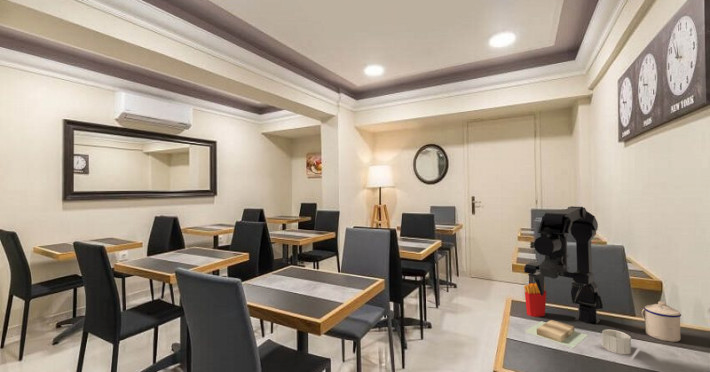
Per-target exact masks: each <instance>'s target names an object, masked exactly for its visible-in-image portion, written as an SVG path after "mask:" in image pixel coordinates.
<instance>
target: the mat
mask: <svg viewBox="0 0 710 372" xmlns="http://www.w3.org/2000/svg"><path fill="white" fill-rule="evenodd" d="M545 323H547V322H546V321H542V320H541V321H539V322H537V323H536V324H534V325H532V326H531V327H529V328H528V329H526V330H524V331H523V332H524V333H527V334H530V335H533V336H536V337H539V338H542V339H545V340H547V341H551V342H554V343H556V344H559V345H563V346H566V347H568V348H571V349H574V348H575V347H576V346H578V345H579V344H580V343H581V342H583V341H584V340H585V339H586V338H587V337H588V336H589V335H588V334H587V333H586V334H585V333H582V332H579V331H576V330H574V333H573V334H571V335H570V336H569V337H567V338H566V339H565V340H564V341H562V342H558V341H555V340H552V339H549V338H546V337H543V336H540V335H537V328H539V327H540V326H542V325H543V324H545Z"/></svg>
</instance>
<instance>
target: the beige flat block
mask: <svg viewBox="0 0 710 372" xmlns="http://www.w3.org/2000/svg"><path fill="white" fill-rule="evenodd" d="M574 331H575V325H571V324H567V323H564V322H560V321H556V320H553V319H550V320H548V321H547V322H546V323H545V324H543V325H542V326H540V327H539V328H537V335H540V336H543V337H546V338H549V339H552V340H555V341H558V342H562V341H564V340H565V339H566V338H567V337H569V336H570V335H571V334H573V333H574Z"/></svg>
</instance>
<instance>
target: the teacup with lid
mask: <svg viewBox="0 0 710 372" xmlns="http://www.w3.org/2000/svg"><path fill="white" fill-rule="evenodd" d="M641 316H642V318H643V320H644V322H645V324H644V325H645V333H646V335H648V336H650V337H651V338H655V339H657V340H660V341H665V342H672V343H676V342H679V341H681V316H682V313H681V312H680V311H679V310H677V309H675V308H673V307H671V306H669V305H667V303H666V302H665V301H661V300H659V301H658V302H657V303H653V304H647V305H644V307H643V308H642V310H641Z"/></svg>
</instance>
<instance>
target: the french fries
mask: <svg viewBox="0 0 710 372" xmlns="http://www.w3.org/2000/svg"><path fill="white" fill-rule="evenodd" d="M523 287H524V297H525V308H526V315H527V316H529V317H534V318H538V317H543V316H545V315H546V304H547V291H546V290H544V295H543V296H542V295H541V294H540V291H539V289H538V286H537V284H536V282H534V283H533V282H531V283H528V284H526V285H524V286H523ZM545 288H546V283H544V289H545Z"/></svg>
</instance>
